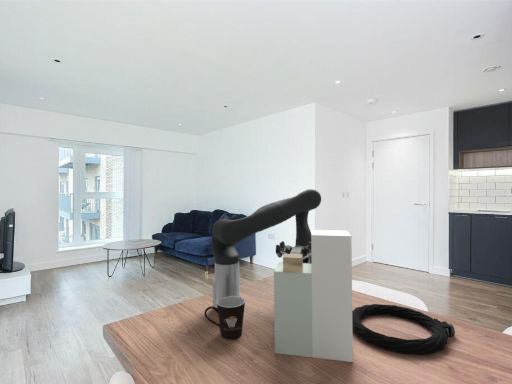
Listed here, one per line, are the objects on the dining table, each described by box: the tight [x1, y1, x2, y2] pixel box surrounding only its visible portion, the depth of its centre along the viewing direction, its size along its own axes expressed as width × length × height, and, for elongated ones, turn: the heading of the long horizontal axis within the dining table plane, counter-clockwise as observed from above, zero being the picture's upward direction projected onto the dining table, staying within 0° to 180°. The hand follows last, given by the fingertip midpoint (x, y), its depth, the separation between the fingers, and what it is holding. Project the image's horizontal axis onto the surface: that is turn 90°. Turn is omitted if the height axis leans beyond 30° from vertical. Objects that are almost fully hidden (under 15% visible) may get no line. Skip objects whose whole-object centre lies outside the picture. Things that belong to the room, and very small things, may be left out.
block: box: [282, 246, 303, 273], centre depth 83 cm, size 19×5×4 cm, turn 168°
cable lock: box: [352, 303, 456, 355], centre depth 86 cm, size 28×4×30 cm
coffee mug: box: [204, 296, 246, 341], centre depth 85 cm, size 12×9×10 cm
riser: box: [273, 229, 354, 363], centre depth 77 cm, size 10×20×32 cm, turn 77°
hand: (296, 244), depth 87 cm, fingers open, 8 cm apart
